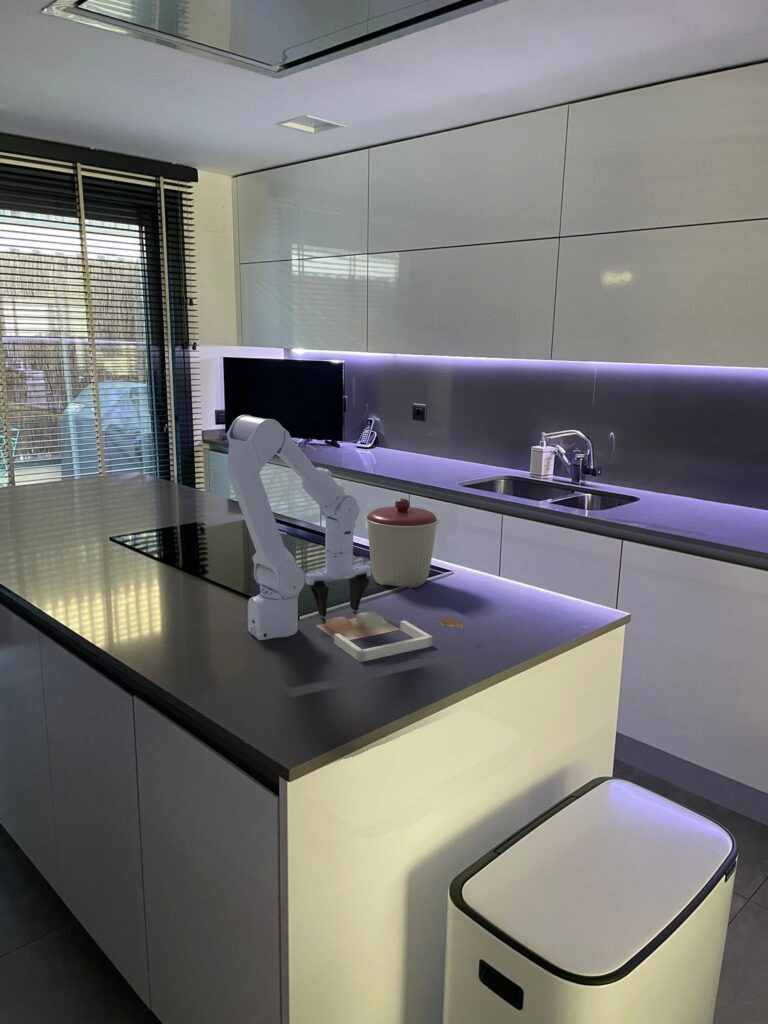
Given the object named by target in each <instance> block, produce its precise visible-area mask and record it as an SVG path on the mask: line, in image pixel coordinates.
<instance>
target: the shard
mask: <svg viewBox="0 0 768 1024" xmlns="http://www.w3.org/2000/svg"><path fill="white" fill-rule="evenodd" d="M439 624H440V626H443V627H452V628H457V629H458V628H459V629H462V628H463V627H464V626H463V624H462V623H461V622H460V621H458V620H457V619H456V618H453V617H445V618H442V619H441V620H440V622H439Z"/></svg>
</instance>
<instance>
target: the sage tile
mask: <svg viewBox="0 0 768 1024" xmlns="http://www.w3.org/2000/svg"><path fill="white" fill-rule="evenodd" d="M355 618H356V621H357V622H358V623H360V624H361V625H363V626H365V627H368V626H374V625H379V624H382V619H383V616H382V615H380V614H378V613H377V612H375V611H374V610H370V611H369V610H368V611H365V612H360V613H355Z"/></svg>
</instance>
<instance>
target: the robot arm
mask: <svg viewBox="0 0 768 1024" xmlns="http://www.w3.org/2000/svg"><path fill="white" fill-rule="evenodd" d="M226 438H227V442H228V454H227V468H226V470H227V471H226V472H227V475H228V477H229V480H230V483H231V485H232V488H233V491H234V494H235V497H236V500H237V501H238V505H239V509H240V510H241V513H242V516H243V519H244V521H245V523H246V527H247V529H248V530H247V531H248V533H249V535H250V538H251V540H252V544H253V546H254V549H255V551H256V552H255V553H254V555H252V557H251V558H252V561H253V564H254V567H253V576H254V580H255V581H256V583H257V584H258V585H259V591H260V593H259V594H258V595H256V596H252V597H250V598H249V599H248V602H247V631H248V632H249V633H250V634H251V635H252V636H253V637H255V638H256V639H257V640H258V641H265V640H269V639H275V638H286V637H291V636H293V635H295V634H297V633H298V630H299V627H298V626H299V624H298V622H299V621H298V620H299V619H298V618H299V617H298V616H299V614H298V613H299V610H298V609H299V608H298V607H299V605H298V603H299V601H298V597H299V596H300V592H302V590H303V588H304V586H305V584H307V585H308V587H309V588H310V590H311V592H312V595H313V596H314V597H313V598H314V600H315V604H316V607H317V613H318V615H319V616H321V617H327V609H328V607H327V606H328V604H327V603H328V602H327V601H328V595H329V590H330V588H329V586H327V585H326V583H325V582H333V581H338V580H346V579H347V580H348V584H349V595H350V596H349V603H350V606H349V607H350V609H352V610H353V611H355V612H357V611H358V610H359V607H360V603H361V600H362V597H363V594H364V593H365V591H366V589H367V588H368V585H369V584H370V578H369V577H371V576H372V568H371V566H370V565H368V564H362V565H361V564H360V565H354V564H353V563H354V561H353V560H354V530H355V528H356V521H357V518H358V517H359V515H360V511H361V507H360V506H359V504H358V501H357V499H356V498H355V497H354V495H353V496H352V495H349V494H346V492H345V487H344V486H343V485H340V484H338V483H337V481H336V480H335V479H334V477H332V475H333V472H331V470H329V469H326V468H323V467H315V466H314V464H313V463H312V462H311V461H310V459H309V458H308V457H307V456H306V455H305V453H304V452H303V450H301V448H300V447H299V446H298V445H297V443H296V442H295V441H294V440H293V438H292V437H291V435H290V432H289V431H288V430H287V429H286V428H284V427H283V426H282V424H281V423H280V422H279V421H277V420H276V419H274V418H273V419H272V418H262V417H256V416H252V415H250V414H242V415H239V416H238V417H236V418H234V420H233V422H232V423H231V425H230V427H229V429H228V431H227V432H226ZM274 455H277V457H279V458H280V459H281V460H282V461H283V463H285V464H286V465H287V466H288V467H289V468H290V469H291V470H293V472H295V474H296V475H298V477H300V478H301V488H302V489H303V490H304V491H305V492H306V494H308V495H309V496H310V497H311V499H312V500H313V501H314V502H315V503H316V504H317V505H318V507H319V512H320V515H322V516H324V517H325V546H324V548H325V549H324V550H325V551H324V552H325V555H324V556H325V558H324V560H325V561H324V563H325V564H324V565H325V567H324V568H322V569H319V570H316V571H313V572H308V573H305V571H304V570H303V569H302V567H300V566H299V565H298V563H297V562H296V561H297V560H296V559H295V557H294V555H293V554H292V553H291V552H290V551H289V550H288V549H287V548H286V546H285V544H284V541H283V538H282V536H281V533H280V530H279V526H278V524H277V521H276V518H275V515H274V512H273V509H272V507H271V503H270V501H269V498H268V494H267V493H266V489H265V487H264V484H263V481H262V478H261V475H260V474H261V471H262V469H263V468H264V467H265V466H266V464H268V462H270V460H271V459H273V457H274Z"/></svg>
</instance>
